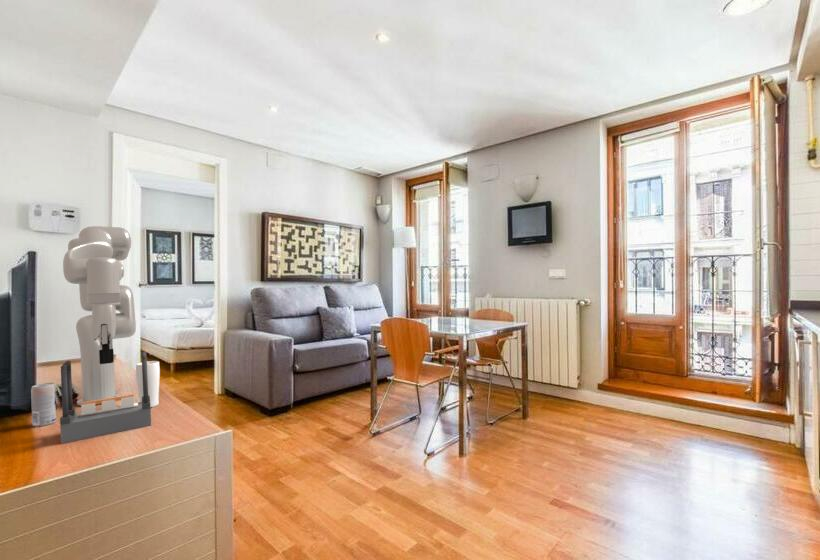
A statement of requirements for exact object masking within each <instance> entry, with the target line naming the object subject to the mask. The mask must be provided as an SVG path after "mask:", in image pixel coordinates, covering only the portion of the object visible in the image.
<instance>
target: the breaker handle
mask: <svg viewBox="0 0 820 560" xmlns="http://www.w3.org/2000/svg"><path fill="white" fill-rule="evenodd" d="M134 395H135V394H134V393H131V394H126V395H125V394H123V395H121V396H117V397H111V398H105V399H99V400H93V401H87V402H82V403H81V406H80V407H81V412H77V417H81V416H86V415H92V414H98V413H103V412H109V411H115V410H120V409H126V408H131V407H137V406H138V403H139V402H135V397H134ZM119 401H120V405H117V407H116V402H119ZM101 403H102V404H101ZM134 403H135V404H134ZM96 404H97V405H101V408H100V410H99V409H97V407H96Z"/></svg>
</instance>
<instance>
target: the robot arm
mask: <svg viewBox="0 0 820 560" xmlns="http://www.w3.org/2000/svg"><path fill="white" fill-rule="evenodd" d="M131 248H132V238H131V234H130V232H129V231H128V230H127V229H125V228H123V227H121V226H120V227H119V226H118V227H117V226H101V225H100V226H99V225H97V226H95V225H94V226H93V225H92V226H87V227H84V228H82V229H81V231H79V234H78V237H76V238H73V239H71V240H69V241H68V245H67V250H68V251H67V252H66V253H65V254H64V256H63V258H62V259H63V261H62V268H63V269H62V271H63V275H64V276H63V277H64V279H65V280H66V281H67V282H68V283H70V284H74V285H78V286H79V287H78V288H79V290H78V291H79V301H80V307H81V308H82V310H83V311H85V312H91V315H90V314H89V315H85V316H82V317H80V318H79V319H78V321H77V322H76V324H75V325H76V326H75V329H76V334H77V335H76V336H77V338H78V345H79V352H80V370H81V371H80V372H81V374H80V376H81V394H82V397H81V398H80V399H78V400H77V401H76V405H77V406H80V407H81V403H82V402H87V401H93V400H99V399H105V398H111V397H117V396H122V395H121V393H120V392H116V382H115V381H116V379H115V376H116V375H115V357H114V356H115V352H114V348H113V340H115V339H116V340H117V339H123V338H125V339H126V338H130V337H132V336H134V335H135V333H136V329H137V326H136V325H137V323H136V322H137V321H136V313H135V301H134V293H133V290H132V288H131V287H130V286H127V285H124V284H122V285H121V284H120V281H122V278H124V276H125V268H124V265H123V263H121V261H125V260H126V259H127V258H128V257H129V253H130V251H131ZM96 405H98V404H96ZM100 405H102V403H101V404H100Z"/></svg>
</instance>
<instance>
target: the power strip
mask: <svg viewBox="0 0 820 560" xmlns="http://www.w3.org/2000/svg"><path fill="white" fill-rule="evenodd" d="M135 403H136V402H134V404H135ZM137 403H138V406H137V407H131V408H126V409H120V410H115V411H109V412H103V413H98V414H92V415H86V416H81V417H77V413H78V412H77V413H76V412H75V415H74V416H71V423H69V424H63V425H60V426H59V427H60V444H67V443H73V442H76V441H82V440H86V439H87V440H88V439H91V438H96V437H101V436H105V435H110V434H111V435H112V434H115V433H116V434H117V433H121V432H126V431H130V430H136V429H140V428H146V427H151V426H152V419H151V417H152V412H151V408H150V409H145V410H142V402H140V401H139V402H137ZM117 406H118V405H117ZM117 406H116V405H115V407H117ZM100 409H101V408H100ZM100 409H98V410H100ZM150 425H151V426H150ZM145 426H146V427H145Z"/></svg>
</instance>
